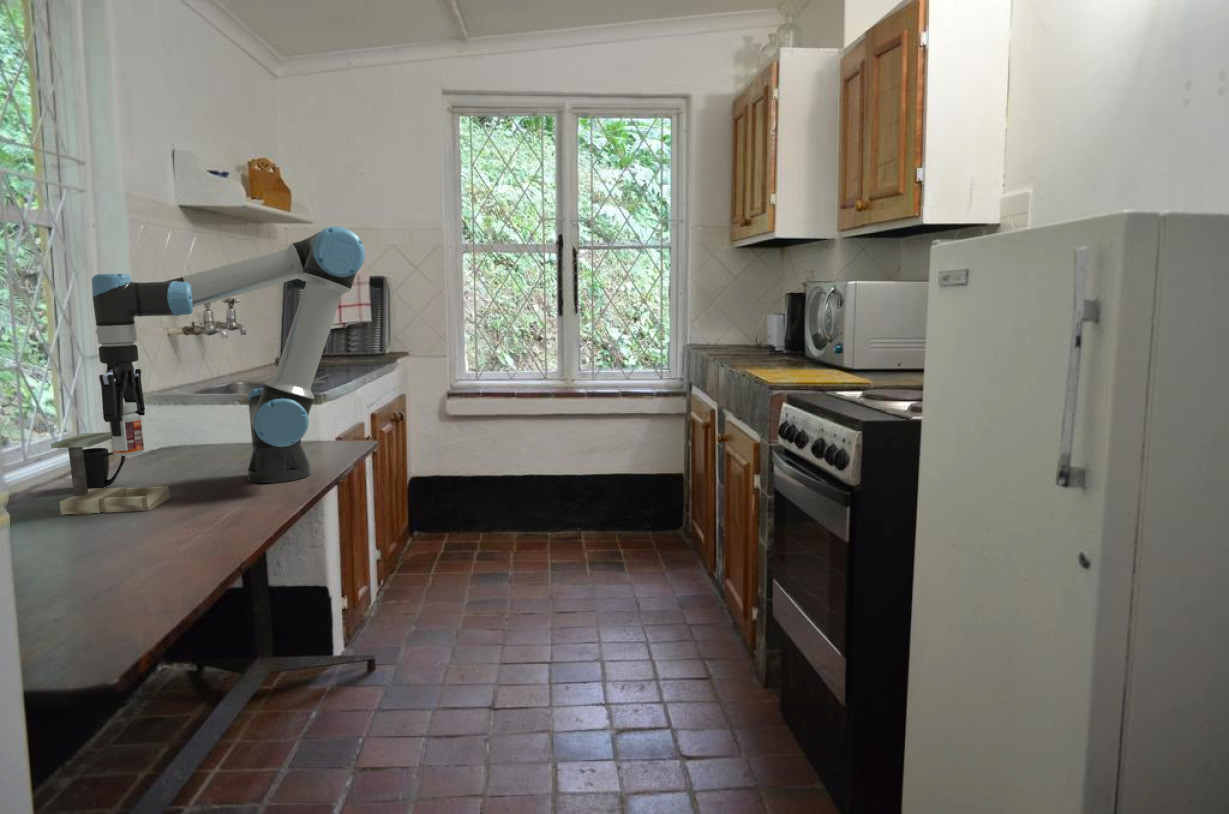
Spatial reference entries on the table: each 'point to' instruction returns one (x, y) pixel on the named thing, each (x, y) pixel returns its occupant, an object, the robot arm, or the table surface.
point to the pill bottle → (131, 430)
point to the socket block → (102, 497)
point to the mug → (99, 467)
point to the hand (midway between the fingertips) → (128, 447)
